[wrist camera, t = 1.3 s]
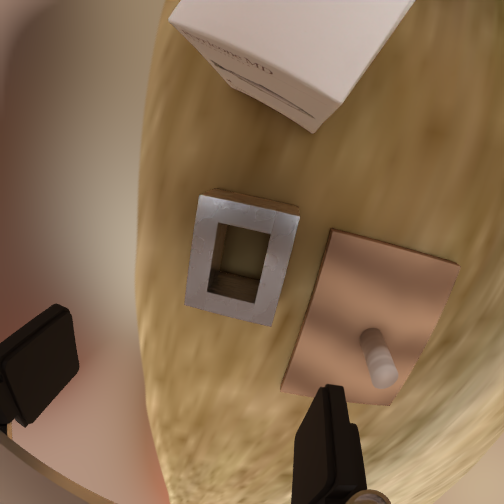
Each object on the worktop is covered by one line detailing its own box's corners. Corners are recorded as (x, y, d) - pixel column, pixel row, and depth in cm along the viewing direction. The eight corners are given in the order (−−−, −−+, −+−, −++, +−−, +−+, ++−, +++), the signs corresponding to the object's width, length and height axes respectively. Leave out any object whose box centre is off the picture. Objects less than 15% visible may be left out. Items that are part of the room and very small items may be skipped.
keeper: (331, 228, 22) (345, 255, 16) (455, 262, 21) (494, 293, 15) (280, 384, 27) (276, 434, 21) (387, 399, 26) (400, 444, 20)
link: (215, 188, 22) (199, 194, 18) (298, 206, 22) (300, 216, 18) (199, 282, 25) (184, 304, 21) (274, 301, 24) (271, 326, 21)
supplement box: (227, 87, 20) (157, 19, 8) (279, 17, 17) (263, -90, 5) (312, 138, 20) (341, 109, 8) (363, 64, 18) (427, -17, 6)
